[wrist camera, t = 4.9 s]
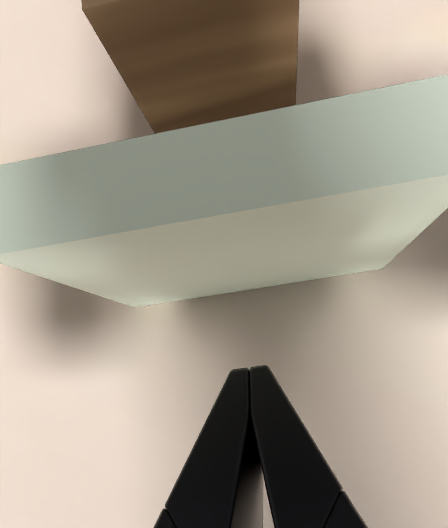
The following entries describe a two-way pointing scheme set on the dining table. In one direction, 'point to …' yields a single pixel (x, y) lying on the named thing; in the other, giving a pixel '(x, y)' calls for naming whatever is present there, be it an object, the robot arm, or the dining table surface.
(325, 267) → the end tile
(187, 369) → the dining table surface
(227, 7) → the domino
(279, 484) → the robot arm
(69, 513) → the dining table surface
